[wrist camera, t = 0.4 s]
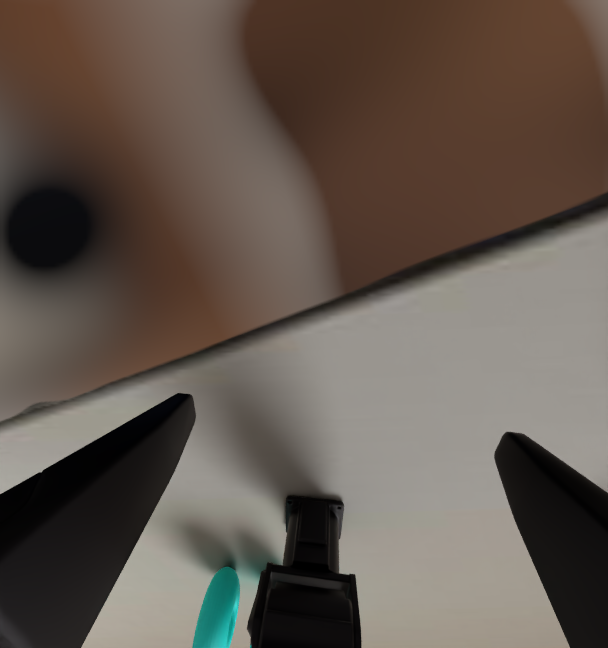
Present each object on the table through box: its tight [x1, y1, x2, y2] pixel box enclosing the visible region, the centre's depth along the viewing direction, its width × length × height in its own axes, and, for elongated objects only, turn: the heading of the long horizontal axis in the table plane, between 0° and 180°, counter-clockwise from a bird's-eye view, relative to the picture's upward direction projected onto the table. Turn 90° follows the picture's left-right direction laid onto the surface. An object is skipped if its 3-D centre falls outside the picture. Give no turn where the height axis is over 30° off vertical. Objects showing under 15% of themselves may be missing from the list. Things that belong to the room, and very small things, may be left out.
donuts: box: [192, 567, 251, 648], centre depth 36 cm, size 10×10×10 cm
